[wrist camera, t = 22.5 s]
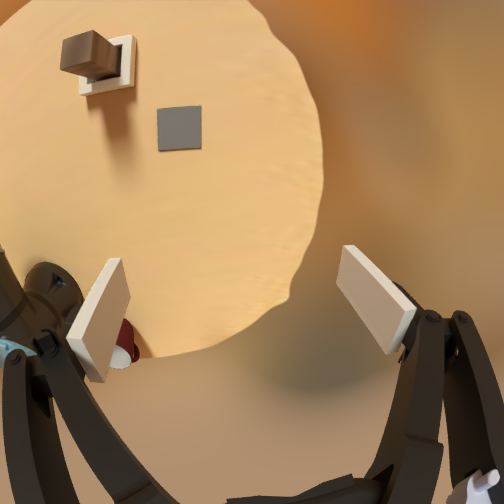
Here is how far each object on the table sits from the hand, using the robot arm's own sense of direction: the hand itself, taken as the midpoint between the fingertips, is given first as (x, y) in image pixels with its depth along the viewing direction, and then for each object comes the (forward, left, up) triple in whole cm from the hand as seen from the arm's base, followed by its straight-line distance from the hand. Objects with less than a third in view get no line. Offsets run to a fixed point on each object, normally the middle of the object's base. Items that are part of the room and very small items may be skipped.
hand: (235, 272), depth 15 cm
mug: (-22, -32, -32) cm, 50 cm away
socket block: (-18, +20, -32) cm, 42 cm away
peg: (-18, +20, -32) cm, 42 cm away
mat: (-6, +8, -32) cm, 33 cm away
